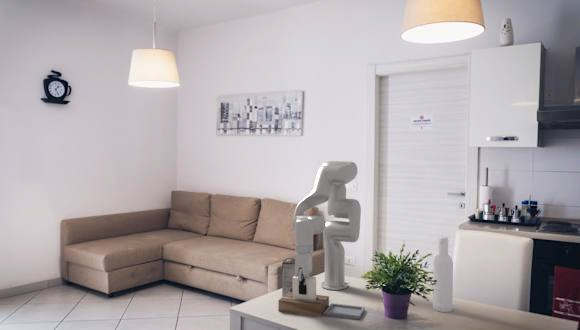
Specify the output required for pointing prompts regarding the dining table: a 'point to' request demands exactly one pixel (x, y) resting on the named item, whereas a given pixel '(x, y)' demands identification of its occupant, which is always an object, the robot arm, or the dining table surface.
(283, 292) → the tall grey box
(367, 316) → the dining table surface
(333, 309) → the grey tray
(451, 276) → the bottle
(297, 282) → the white block
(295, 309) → the brown wooden flat box
